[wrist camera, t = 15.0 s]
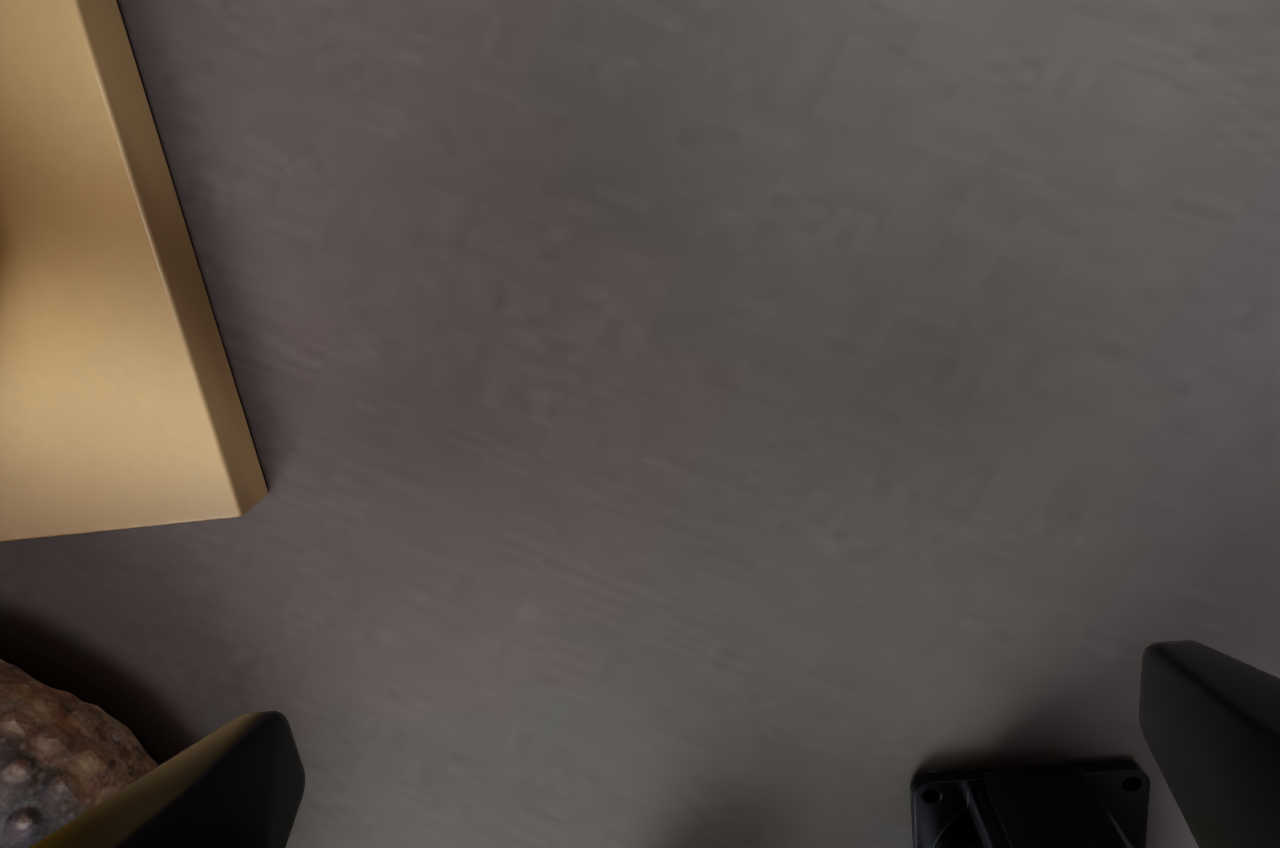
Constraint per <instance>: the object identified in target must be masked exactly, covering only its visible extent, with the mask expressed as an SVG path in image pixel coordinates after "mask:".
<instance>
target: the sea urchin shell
mask: <svg viewBox="0 0 1280 848" xmlns="http://www.w3.org/2000/svg"><path fill="white" fill-rule="evenodd" d="M158 766H159V765H158V764H157V763H156V762H155V761H154V760H153V759H152V758H151V757H150V756H149V755H148V754H147V752H146V751H145V750H144V748H143V747H142V746H141V744H140V743H139V742H138V740H137V739H136V737H135V736H134V735H133V733H132V732H131V731H130V729H129V728H128V727H126V726H125V725H123V724H122V723H120V722H119V721H117V720H116V719H114V718H113V717H111V716H110V715H108V714H107V713H106V712H105V711H103V710H102V709H101V708H100V707H99V706H97V705H93V704H89V703H86V702H82V701H81V700H80V699H79V698H77V697H76V696H75V695H73V694H71V693H70V692H67V691H63V690H58V689H53V688H51V687H49V686H47V685H45V684H43V683H41V682H39V681H36V680H35V679H34V678H32V677H31V676H30V675H28V674H27V673H26V672H24V671H23V670H22V669H20V668H19V667H17V666H16V665H13V664H8V663H6V662H5V661H3V660H2V659H0V848H28V847H30V846H32V845H33V844H35V843H36V842H38V841H40V840H41V839H43V838H44V837H46V836H48V835H49V834H51V833H52V832H54V831H56V830H57V829H59V828H60V827H62V826H64V825H65V824H67V823H68V822H70V821H72V820H73V819H75V818H76V817H78V816H80V815H81V814H83V813H84V812H86V811H88V810H89V809H91V808H92V807H94V806H96V805H97V804H99V803H100V802H102V801H104V800H105V799H107V798H108V797H110V796H112V795H113V794H115V793H116V792H118V791H120V790H121V789H123V788H124V787H126V786H128V785H129V784H131V783H132V782H134V781H136V780H137V779H139V778H140V777H142V776H144V775H145V774H147V773H148V772H150V771H152V770H153V769H155V768H156V767H158Z"/></svg>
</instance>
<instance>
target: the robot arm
mask: <svg viewBox="0 0 1280 848" xmlns="http://www.w3.org/2000/svg"><path fill="white" fill-rule="evenodd" d="M1139 719H1140V724H1141V729H1142V732H1143V735H1144V737H1145V739H1146V741H1147V743H1148V745H1149V748H1150V750H1151V752H1152V754H1153V756H1154V758H1155V760H1156V762H1157V764H1158V766H1159V768H1160V770H1161V772H1162V774H1163V776H1164V778H1165V780H1166V782H1167V784H1168V786H1169V788H1170V790H1171V792H1172V794H1173V796H1174V798H1175V800H1176V802H1177V804H1178V806H1179V808H1180V810H1181V812H1182V814H1183V816H1184V818H1185V820H1186V822H1187V824H1188V826H1189V828H1190V830H1191V832H1192V834H1193V836H1194V838H1195V841H1196V843H1197V845H1198V847H1199V848H1280V678H1277V677H1275V676H1273V675H1271V674H1268V673H1266V672H1264V671H1262V670H1259V669H1257V668H1255V667H1253V666H1250V665H1248V664H1246V663H1243V662H1241V661H1239V660H1237V659H1234V658H1232V657H1230V656H1228V655H1225V654H1223V653H1221V652H1219V651H1216V650H1214V649H1212V648H1210V647H1207V646H1205V645H1203V644H1201V643H1198V642H1196V641H1191V640H1182V641H1169V642H1157V643H1151V644H1150V645H1149V646H1147V647H1146V648H1145V651H1144V653H1143V658H1142V671H1141V686H1140V702H1139ZM1130 777H1132V778H1131V779H1130V780H1128V781H1124V780H1125V779H1127V778H1130ZM304 787H305V773H304V768H303V764H302V761H301V758H300V755H299V752H298V749H297V746H296V743H295V740H294V737H293V734H292V731H291V728H290V725H289V723H288V720H287V718H286V717H285V716H284V715H283V714H282V713H281V712H278V711H265V712H251V713H245V714H242V715H240V716H238V717H236V718H235V719H233V720H232V721H230V722H228V723H227V724H225V725H224V726H222V727H220V728H219V729H217V730H216V731H214V732H212V733H211V734H209V735H208V736H206V737H204V738H203V739H201V740H200V741H198V742H196V743H195V744H193V745H192V746H190V747H188V748H187V749H185V750H184V751H182V752H180V753H179V754H177V755H176V756H174V757H172V758H171V759H169V760H168V761H166V762H164V763H163V764H161V765H160V766H158V767H156V768H155V769H153V770H152V771H150V772H148V773H147V774H145V775H144V776H142V777H140V778H139V779H137V780H136V781H134V782H132V783H131V784H129V785H128V786H126V787H124V788H123V789H121V790H120V791H118V792H116V793H115V794H113V795H112V796H110V797H108V798H107V799H105V800H104V801H102V802H100V803H99V804H97V805H96V806H94V807H92V808H91V809H89V810H88V811H86V812H84V813H83V814H81V815H80V816H78V817H76V818H75V819H73V820H72V821H70V822H68V823H67V824H65V825H64V826H62V827H60V828H59V829H57V830H56V831H54V832H52V833H51V834H49V835H48V836H46V837H44V838H43V839H41V840H40V841H38V842H36V843H35V844H33V845H32V846H30V847H28V848H285V847H286V844H287V841H288V838H289V835H290V832H291V829H292V826H293V823H294V820H295V817H296V814H297V811H298V808H299V805H300V802H301V799H302V796H303V792H304ZM1149 789H1150V781H1149V777H1148V776H1147V775H1146V773H1145V772H1144V770H1143V769H1142V767H1141V766H1140V765H1139V764H1138V763H1136V762H1134V761H1130V760H1119V761H1103V762H1087V763H1072V764H1056V765H1040V766H1025V767H1009V768H993V769H977V770H962V771H946V772H930V773H924V774H920V775H918V776H917V777H915V778H914V779H913V781H912V782H911V786H910V792H911V816H912V839H913V848H1145V844H1146V830H1147V817H1148V803H1149ZM927 790H934V791H933V792H931V793H924V792H926V791H927Z"/></svg>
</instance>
